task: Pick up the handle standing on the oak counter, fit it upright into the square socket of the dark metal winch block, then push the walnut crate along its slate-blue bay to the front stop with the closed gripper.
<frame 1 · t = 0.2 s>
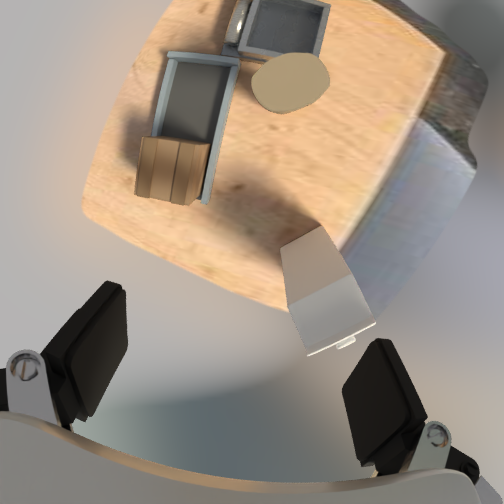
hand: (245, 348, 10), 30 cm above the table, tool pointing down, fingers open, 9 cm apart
crate: (173, 167, 32), point 4 cm above the table, slide at 0.0 cm
milk carton: (311, 254, 41), on the table
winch: (275, 32, 28), on the table
bay: (189, 128, 34), on the table
handle: (279, 103, 33), on the table
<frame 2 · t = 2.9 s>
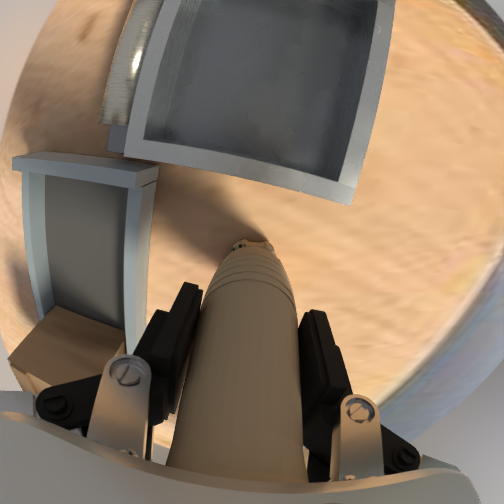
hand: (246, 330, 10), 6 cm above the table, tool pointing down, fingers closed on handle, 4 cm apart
crate: (75, 379, 16), point 4 cm above the table, slide at 0.0 cm
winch: (242, 68, 12), on the table
bay: (90, 298, 18), on the table
handle: (252, 260, 16), on the table, touching gripper
when the fingers open (9 cm above the table, at t = 7.1 s): handle drops 1 cm, resting on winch.
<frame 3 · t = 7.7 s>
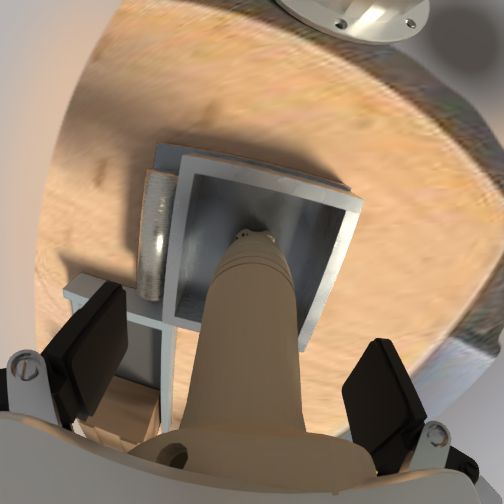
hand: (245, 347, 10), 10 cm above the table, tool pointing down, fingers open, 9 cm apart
crate: (122, 422, 23), point 4 cm above the table, slide at 0.0 cm
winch: (236, 239, 19), on the table
bay: (130, 368, 25), on the table
handle: (254, 248, 18), point 1 cm above the table, touching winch
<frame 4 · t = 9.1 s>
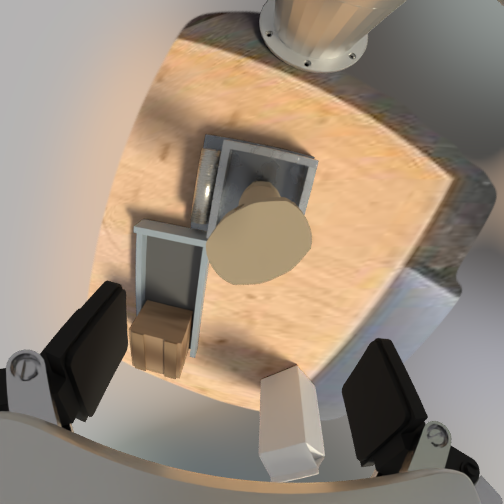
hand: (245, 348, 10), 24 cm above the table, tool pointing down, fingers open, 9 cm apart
crate: (161, 339, 36), point 4 cm above the table, slide at 0.0 cm
milk carton: (288, 381, 45), on the table
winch: (250, 190, 32), on the table
bay: (171, 294, 38), on the table
handle: (261, 193, 30), point 1 cm above the table, touching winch
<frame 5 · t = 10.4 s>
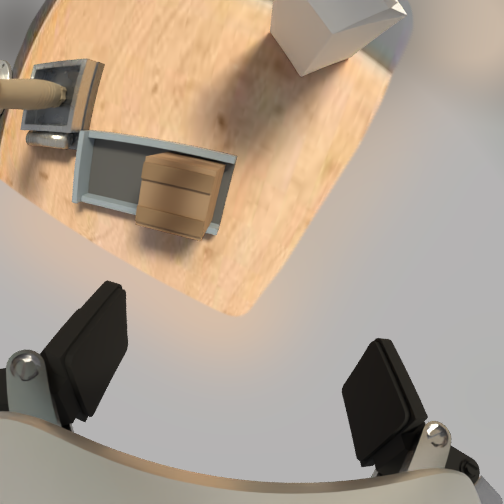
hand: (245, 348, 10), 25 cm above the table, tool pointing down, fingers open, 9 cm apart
crate: (182, 192, 28), point 4 cm above the table, slide at 0.0 cm
milk carton: (310, 43, 25), on the table
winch: (65, 105, 27), on the table
bay: (153, 176, 32), on the table
handle: (60, 96, 26), point 1 cm above the table, touching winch
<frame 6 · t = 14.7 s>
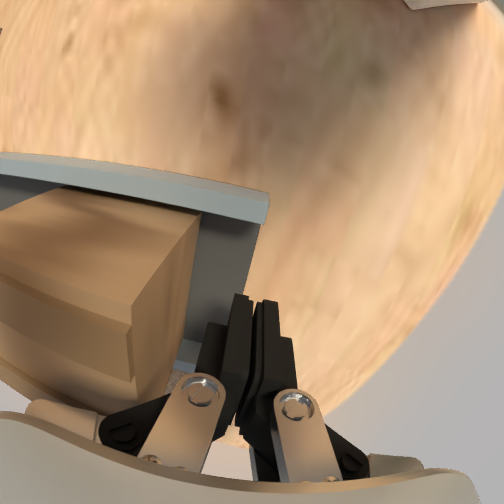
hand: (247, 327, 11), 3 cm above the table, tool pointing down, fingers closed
crate: (85, 305, 9), point 4 cm above the table, slide at 1.5 cm, touching gripper
bay: (74, 244, 13), on the table
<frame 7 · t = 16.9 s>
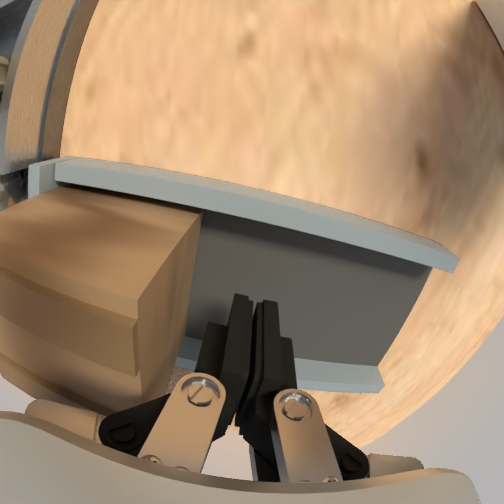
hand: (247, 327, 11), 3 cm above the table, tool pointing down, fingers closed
crate: (88, 302, 9), point 4 cm above the table, slide at 11.0 cm, touching gripper
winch: (10, 99, 9), on the table
bay: (245, 285, 14), on the table
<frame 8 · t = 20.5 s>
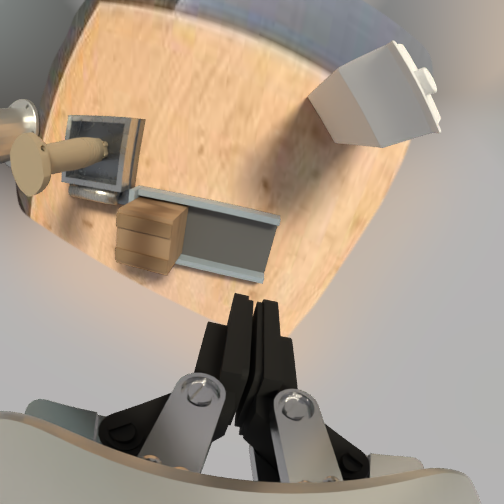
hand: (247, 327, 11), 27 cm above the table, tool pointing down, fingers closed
crate: (152, 233, 34), point 4 cm above the table, slide at 11.0 cm
milk carton: (343, 108, 31), on the table
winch: (105, 157, 34), on the table
bay: (203, 232, 38), on the table
handle: (101, 149, 32), point 1 cm above the table, touching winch
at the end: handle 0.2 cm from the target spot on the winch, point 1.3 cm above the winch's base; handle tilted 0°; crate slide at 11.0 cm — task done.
